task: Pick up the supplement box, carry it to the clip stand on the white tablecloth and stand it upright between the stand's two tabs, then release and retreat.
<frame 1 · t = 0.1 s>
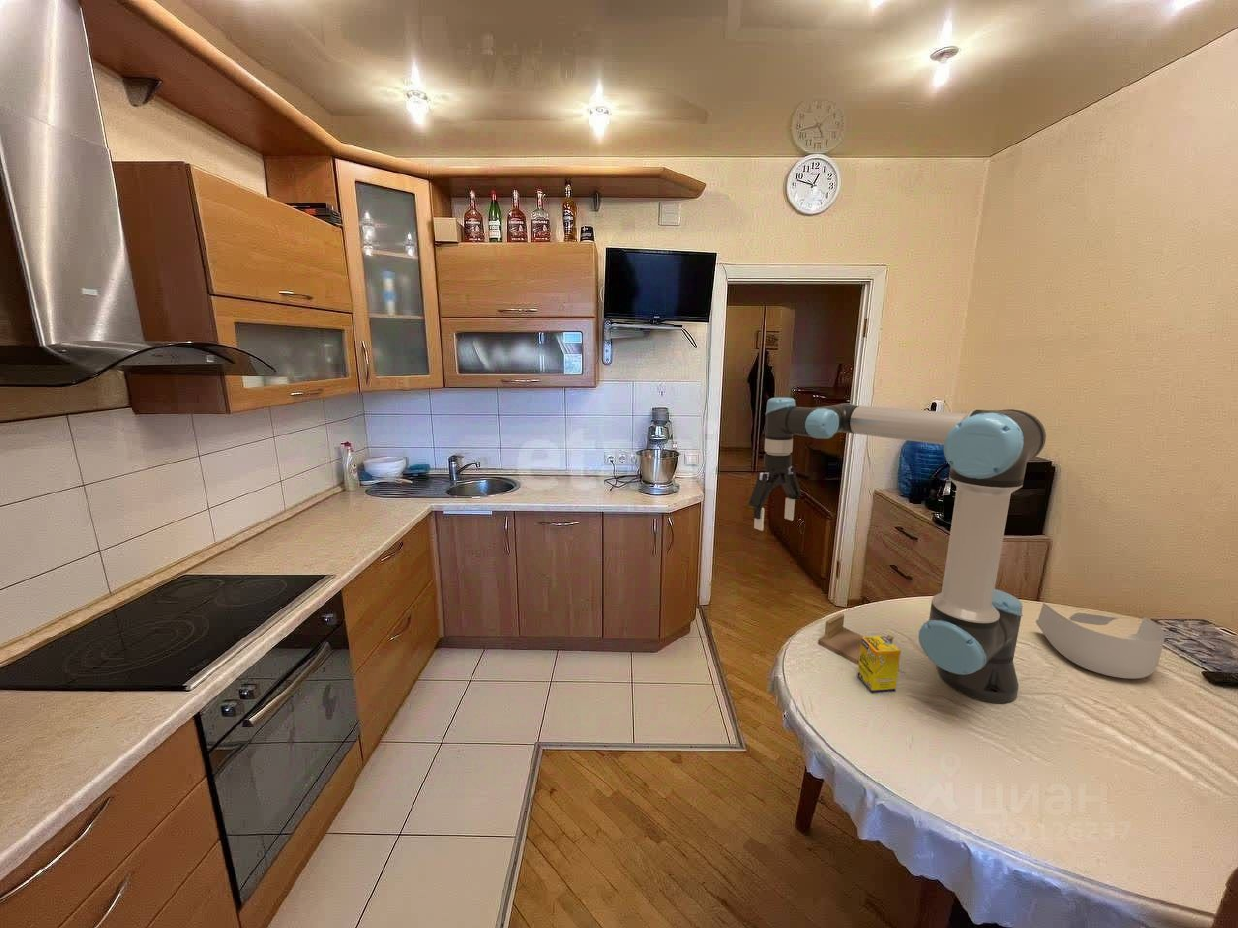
hand: (774, 524, 139), 28 cm above the table, fingers open, 13 cm apart
clip stand: (856, 649, 125), on the table
bowl: (1096, 661, 119), on the table
supplement box: (875, 685, 112), on the table
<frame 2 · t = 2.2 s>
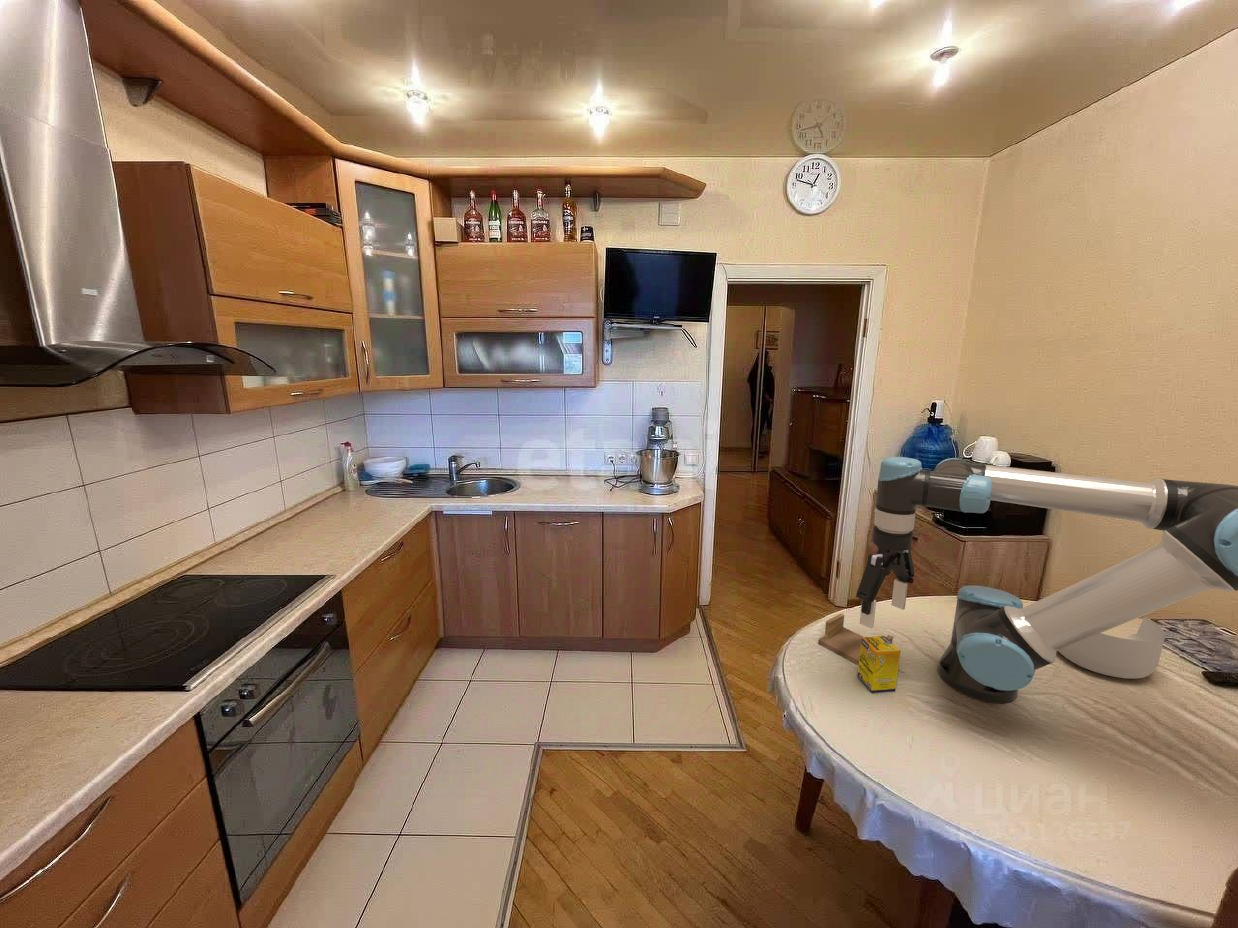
hand: (882, 616, 108), 18 cm above the table, fingers open, 13 cm apart
nothing on the table moved.
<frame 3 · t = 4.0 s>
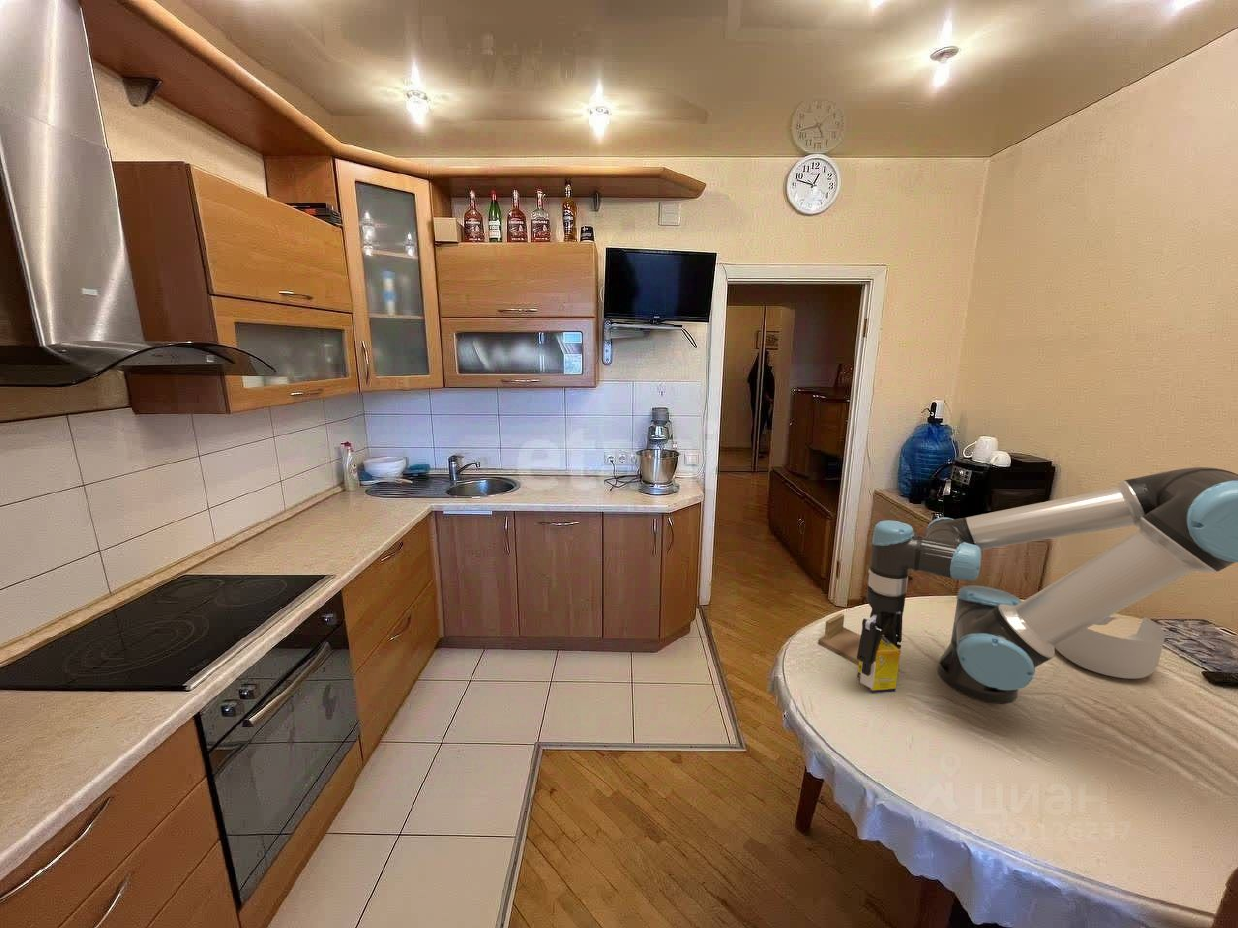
hand: (876, 677, 112), 2 cm above the table, fingers closed on supplement box, 8 cm apart
supplement box: (875, 684, 112), on the table, touching gripper
everything else where it was.
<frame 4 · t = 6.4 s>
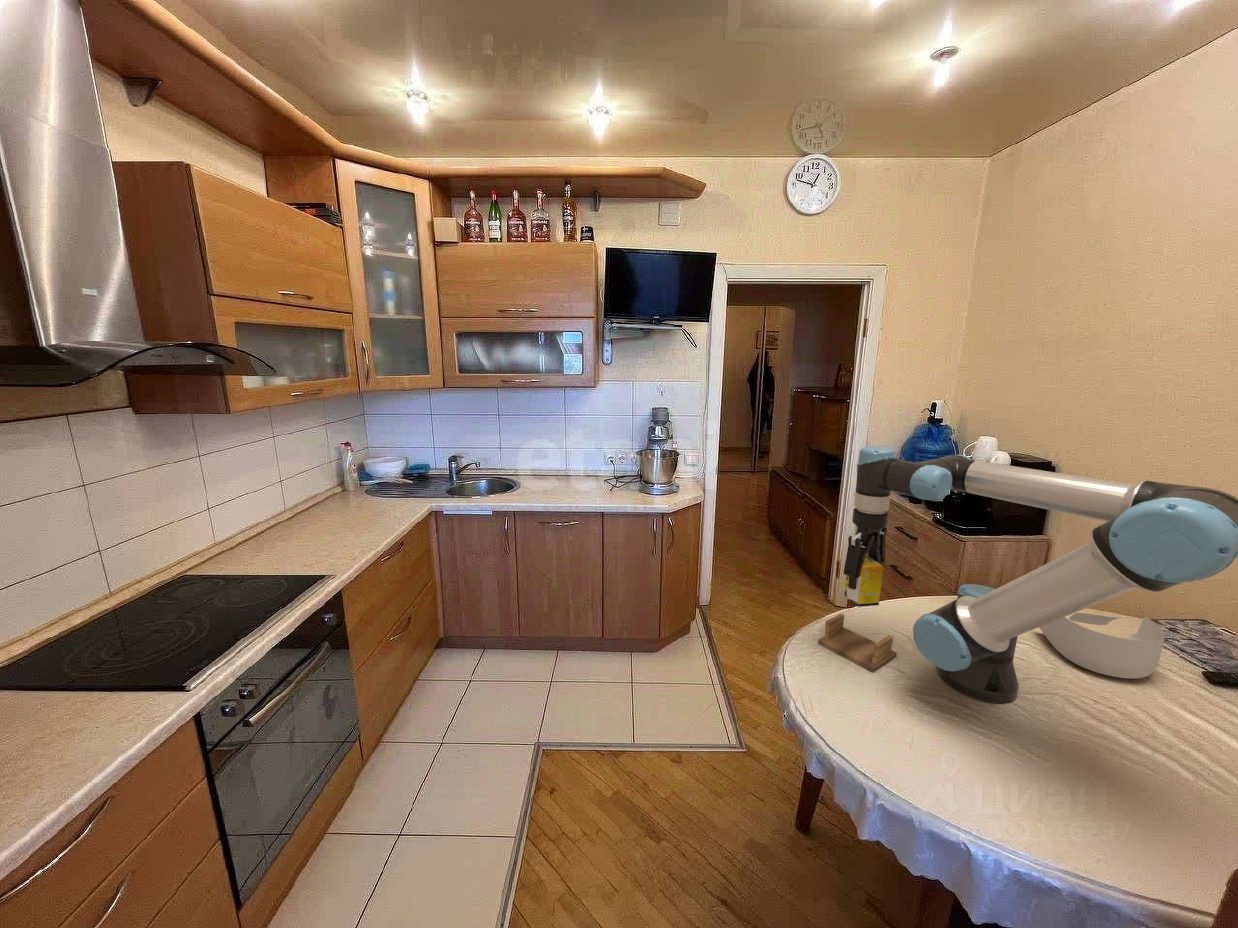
hand: (861, 594, 121), 16 cm above the table, fingers closed on supplement box, 8 cm apart
supplement box: (861, 601, 122), point 14 cm above the table, touching gripper
everything else where it was.
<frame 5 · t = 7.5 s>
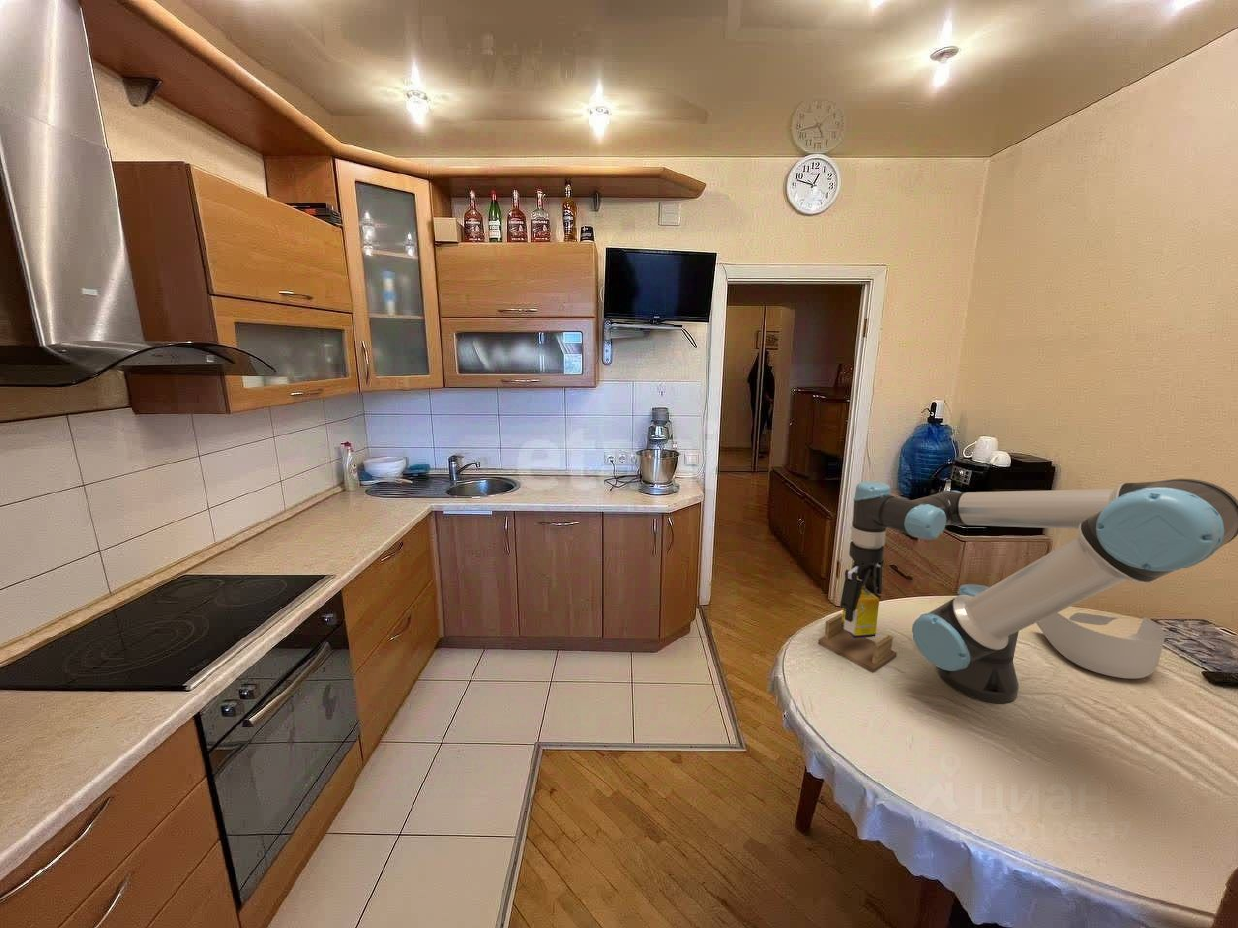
hand: (858, 625, 123), 7 cm above the table, fingers closed on supplement box, 8 cm apart
supplement box: (857, 632, 124), point 5 cm above the table, touching gripper
everything else where it was.
when the fingers open (4 cm above the table, at t = 8.6 s): supplement box drops 1 cm, resting on clip stand.
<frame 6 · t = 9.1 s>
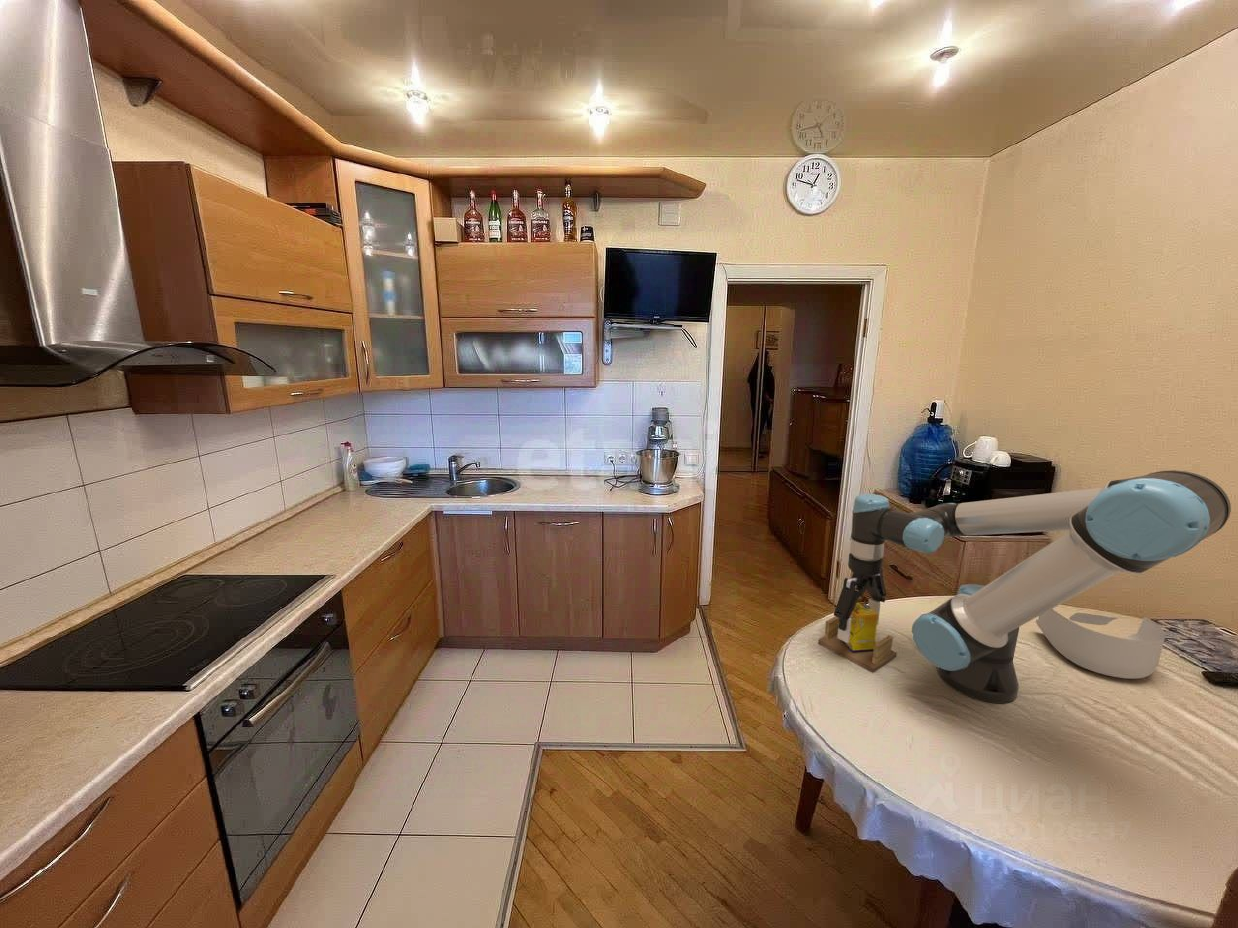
hand: (858, 631, 124), 6 cm above the table, fingers open, 13 cm apart
supplement box: (856, 646, 125), point 1 cm above the table, touching clip stand
everything else where it was.
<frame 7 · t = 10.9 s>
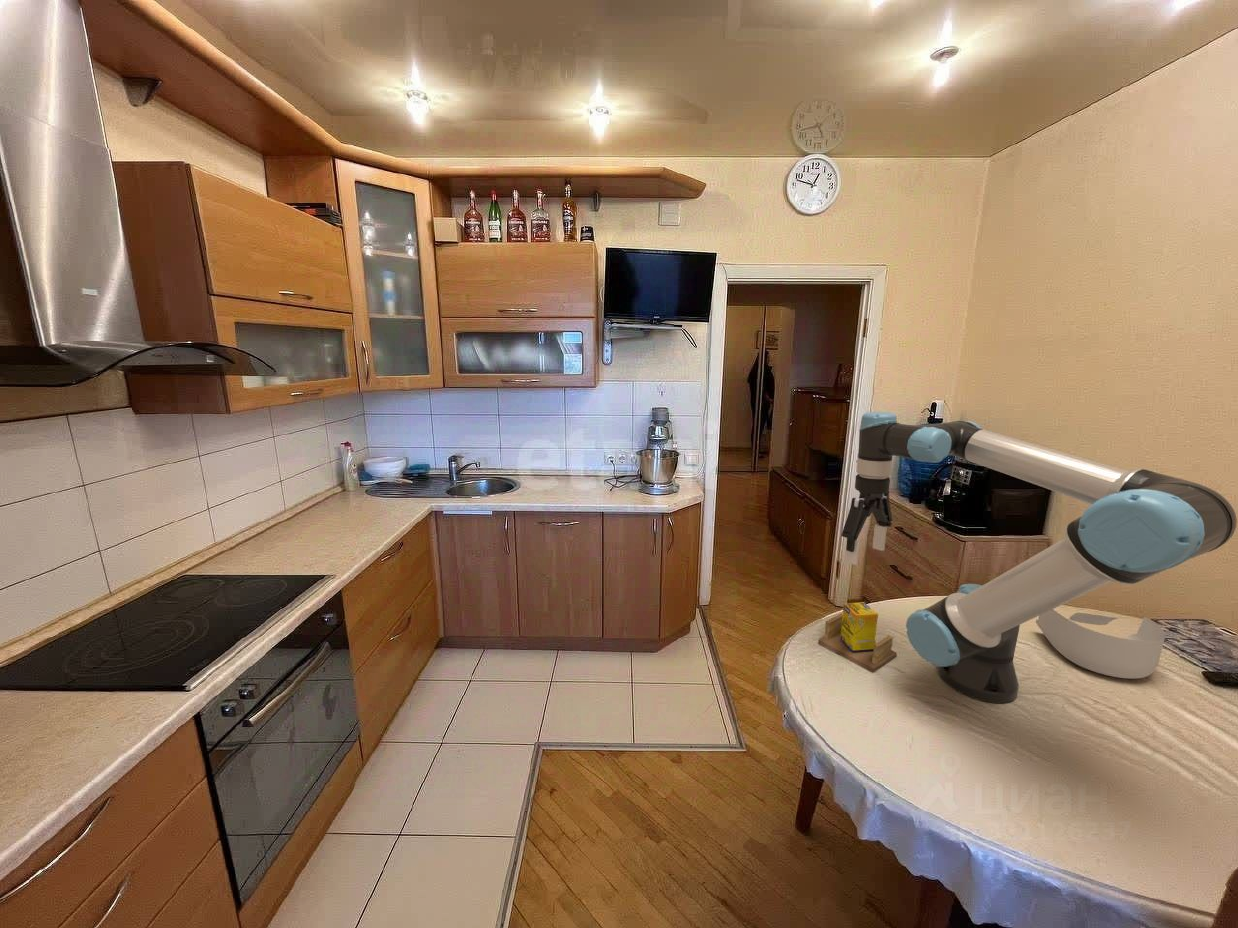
hand: (865, 555, 122), 26 cm above the table, fingers open, 13 cm apart
nothing on the table moved.
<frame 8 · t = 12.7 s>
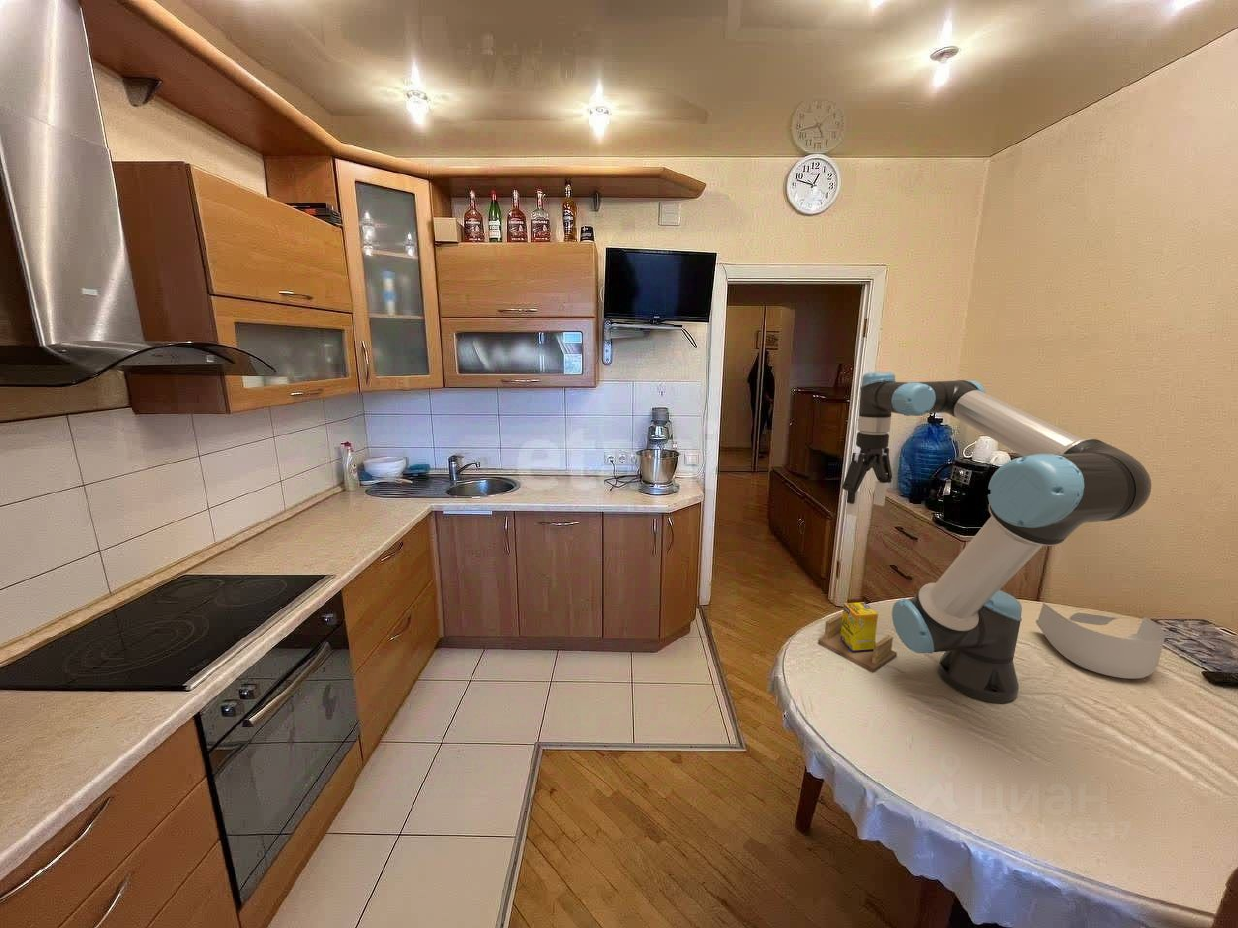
hand: (865, 509, 129), 35 cm above the table, fingers open, 13 cm apart
nothing on the table moved.
at the end: supplement box inside the target area on the clip stand (0.0 cm from its centre), point 1.0 cm above the clip stand's base; supplement box tilted 0°; the gripper is holding nothing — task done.
